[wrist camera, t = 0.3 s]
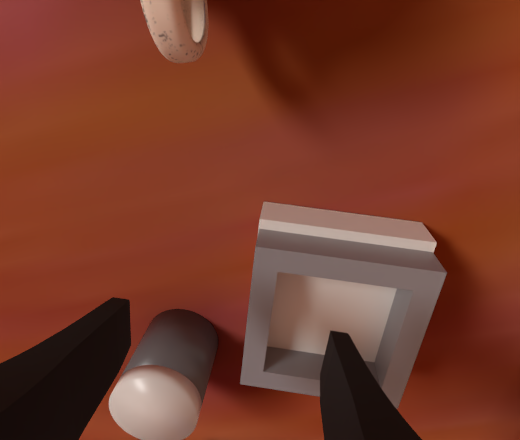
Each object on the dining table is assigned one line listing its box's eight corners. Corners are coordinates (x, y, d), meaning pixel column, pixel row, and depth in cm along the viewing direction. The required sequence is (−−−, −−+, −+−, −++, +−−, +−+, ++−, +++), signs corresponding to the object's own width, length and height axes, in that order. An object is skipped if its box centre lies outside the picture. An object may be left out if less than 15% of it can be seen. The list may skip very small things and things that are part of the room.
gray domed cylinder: (216, 370, 27) (195, 449, 22) (149, 359, 27) (111, 436, 22) (220, 314, 25) (198, 387, 20) (147, 304, 25) (106, 372, 20)
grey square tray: (380, 356, 25) (396, 415, 21) (248, 337, 26) (238, 391, 21) (421, 222, 21) (451, 262, 17) (263, 201, 21) (255, 235, 17)
